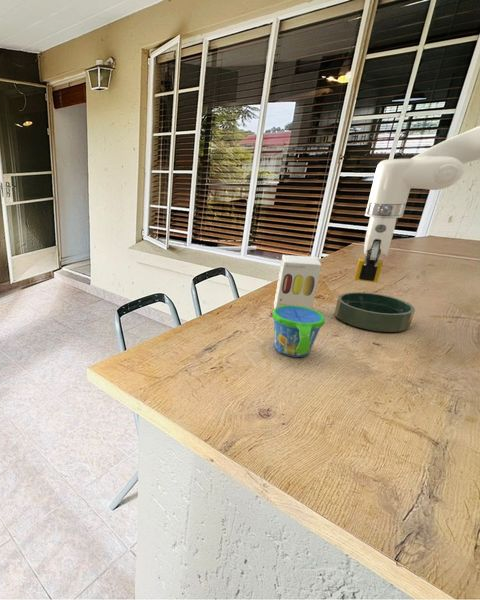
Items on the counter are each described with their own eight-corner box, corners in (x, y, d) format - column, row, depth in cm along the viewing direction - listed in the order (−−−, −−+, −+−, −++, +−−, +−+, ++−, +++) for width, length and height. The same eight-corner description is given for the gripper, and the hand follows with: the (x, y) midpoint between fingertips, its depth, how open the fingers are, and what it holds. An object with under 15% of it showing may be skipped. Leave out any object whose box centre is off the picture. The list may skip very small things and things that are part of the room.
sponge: (377, 279, 96) (382, 260, 94) (377, 282, 94) (382, 263, 92) (354, 276, 99) (359, 258, 97) (354, 279, 97) (359, 260, 95)
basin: (406, 316, 100) (412, 298, 98) (410, 339, 88) (417, 319, 86) (336, 305, 110) (340, 288, 108) (331, 324, 98) (335, 306, 96)
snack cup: (322, 371, 78) (332, 330, 74) (269, 363, 82) (276, 324, 78) (310, 339, 91) (318, 303, 87) (265, 334, 95) (270, 299, 91)
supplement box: (274, 315, 106) (282, 261, 100) (272, 304, 113) (280, 254, 107) (311, 319, 102) (322, 264, 96) (307, 307, 109) (317, 255, 103)
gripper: (406, 215, 82) (384, 289, 88) (402, 206, 94) (383, 272, 100) (365, 214, 86) (348, 284, 93) (366, 206, 98) (351, 268, 105)
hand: (366, 277), depth 96 cm, fingers closed on sponge, 3 cm apart
